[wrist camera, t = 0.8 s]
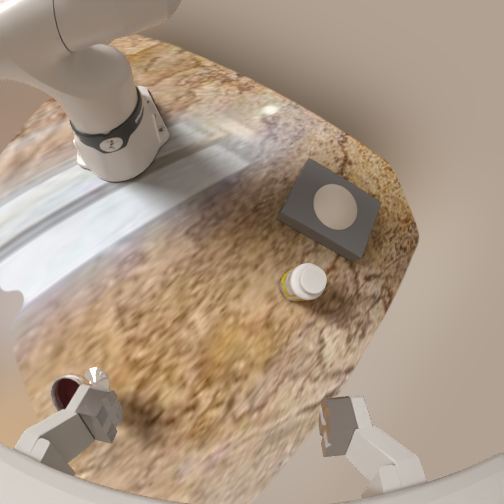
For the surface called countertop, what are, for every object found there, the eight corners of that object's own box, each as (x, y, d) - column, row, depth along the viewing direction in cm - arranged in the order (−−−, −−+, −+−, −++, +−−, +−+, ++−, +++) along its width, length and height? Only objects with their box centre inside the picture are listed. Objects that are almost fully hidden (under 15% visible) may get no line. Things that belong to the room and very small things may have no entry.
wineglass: (109, 361, 45) (84, 375, 34) (118, 398, 44) (96, 421, 32) (76, 363, 44) (44, 376, 32) (84, 400, 43) (56, 420, 31)
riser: (276, 219, 54) (281, 211, 50) (302, 167, 57) (309, 157, 53) (351, 261, 55) (361, 257, 51) (371, 208, 58) (381, 202, 53)
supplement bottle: (315, 282, 53) (339, 276, 43) (297, 308, 52) (318, 307, 42) (290, 262, 53) (310, 252, 43) (271, 288, 52) (287, 283, 42)
